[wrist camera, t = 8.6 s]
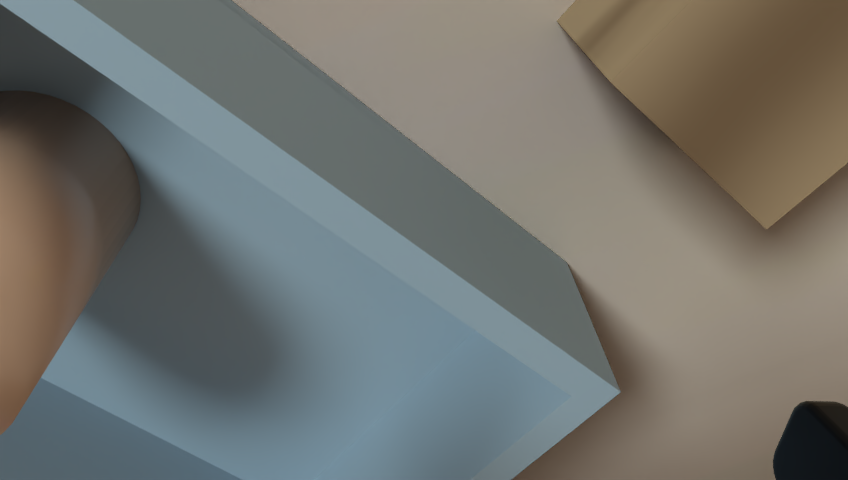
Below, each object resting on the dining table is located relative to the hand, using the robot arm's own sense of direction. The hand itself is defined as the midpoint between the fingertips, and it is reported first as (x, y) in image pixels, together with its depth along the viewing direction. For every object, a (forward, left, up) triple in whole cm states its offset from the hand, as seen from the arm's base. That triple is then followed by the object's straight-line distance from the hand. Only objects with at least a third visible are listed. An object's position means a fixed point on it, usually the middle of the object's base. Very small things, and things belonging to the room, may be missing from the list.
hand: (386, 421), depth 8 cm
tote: (+1, +8, -12) cm, 15 cm away
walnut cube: (-5, -6, -12) cm, 15 cm away
